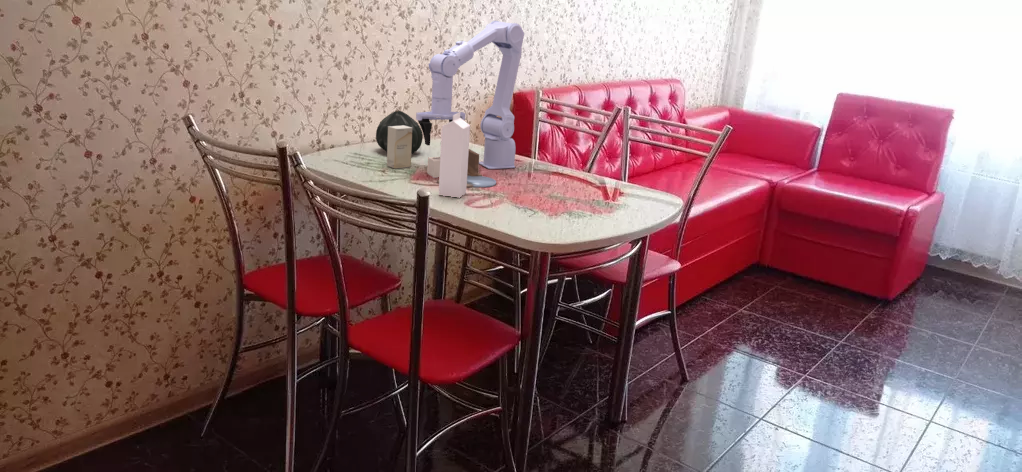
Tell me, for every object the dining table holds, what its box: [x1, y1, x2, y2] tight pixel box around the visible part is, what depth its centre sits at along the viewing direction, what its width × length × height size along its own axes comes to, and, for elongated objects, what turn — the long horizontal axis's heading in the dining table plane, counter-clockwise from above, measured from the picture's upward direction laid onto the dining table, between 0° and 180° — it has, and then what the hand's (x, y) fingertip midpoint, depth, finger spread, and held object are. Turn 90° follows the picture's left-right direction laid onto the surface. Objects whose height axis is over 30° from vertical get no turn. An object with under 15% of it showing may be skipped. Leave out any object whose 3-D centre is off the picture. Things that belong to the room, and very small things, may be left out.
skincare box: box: [386, 125, 412, 169], centre depth 224 cm, size 6×4×12 cm
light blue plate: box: [467, 175, 497, 189], centre depth 215 cm, size 11×11×1 cm
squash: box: [375, 110, 424, 155], centre depth 241 cm, size 14×15×15 cm
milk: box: [438, 111, 471, 199], centre depth 198 cm, size 6×6×22 cm
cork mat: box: [436, 179, 474, 189], centre depth 211 cm, size 8×8×1 cm
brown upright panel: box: [467, 148, 483, 176], centre depth 224 cm, size 4×13×7 cm, turn 27°
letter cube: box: [426, 156, 440, 179], centre depth 219 cm, size 5×5×5 cm
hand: (439, 144), depth 217 cm, fingers open, 7 cm apart
